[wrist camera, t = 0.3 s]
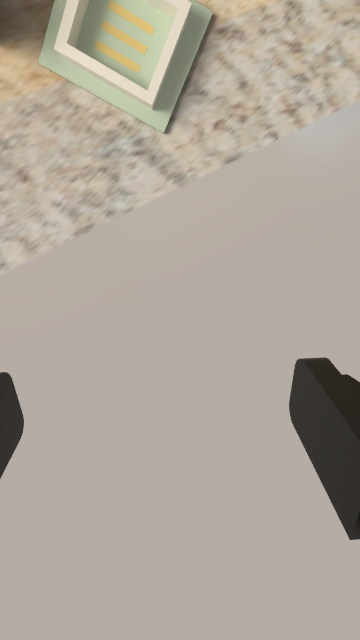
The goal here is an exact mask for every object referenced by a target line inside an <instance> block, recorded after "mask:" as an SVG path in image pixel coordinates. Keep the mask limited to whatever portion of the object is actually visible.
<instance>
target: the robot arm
mask: <svg viewBox="0 0 360 640" xmlns="http://www.w3.org/2000/svg"><path fill="white" fill-rule="evenodd" d="M289 409H290V416H291V420H292V423H293V425H294V428H295V429H296V431H297V434H298V436H299V437H300V440H301V442H302V444H303V446H304V448H305V450H306V452H307V454H308V456H309V458H310V460H311V462H312V464H313V466H314V468H315V470H316V472H317V474H318V476H319V478H320V480H321V482H322V484H323V486H324V488H325V490H326V492H327V494H328V496H329V498H330V500H331V502H332V504H333V506H334V508H335V511H336V512H337V515H338V517H339V519H340V521H341V523H342V525H343V527H344V529H345V531H346V533H347V535H348V537H349V539H350V540H355V539H360V382H358V381H357V380H355V379H354V378H352V377H351V376H349V375H341V374H340V372H339V371H338V370H337V369H336V368H335V366H334V365H333V364H332V363H331V361H330V360H329V359H327V358H307V359H298V360H297V362H296V364H295V369H294V376H293V382H292V389H291V395H290V402H289ZM23 427H24V419H23V414H22V410H21V407H20V404H19V401H18V397H17V394H16V391H15V387H14V384H13V381H12V378H11V376H10V375H9V374H8V373H6V372H2V373H0V478H1V476H2V474H3V472H4V470H5V468H6V466H7V464H8V462H9V460H10V459H11V457H12V454H13V453H14V450H15V449H16V447H17V444H18V443H19V441H20V439H21V436H22V433H23Z"/></svg>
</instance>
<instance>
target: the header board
mask: <svg viewBox="0 0 360 640" xmlns="http://www.w3.org/2000/svg"><path fill="white" fill-rule="evenodd" d="M212 14H213V12H212V11H210V10H209V9H207V8H206V7H204V6H203V5H201V4H200V3H198V2H197V1H195V0H55V1H54V5H53V8H52V12H51V16H50V20H49V23H48V27H47V31H46V35H45V38H44V42H43V46H42V50H41V53H40V57H39V61H38V63H39V64H40V65H41V66H43V67H45V68H47V69H48V70H50V71H52V72H54V73H56V74H57V75H59V76H61V77H63V78H65V79H66V80H68V81H70V82H72V83H74V84H75V85H77V86H79V87H81V88H82V89H84V90H86V91H88V92H90V93H91V94H93V95H95V96H97V97H99V98H100V99H102V100H104V101H106V102H108V103H109V104H111V105H113V106H115V107H116V108H118V109H120V110H122V111H124V112H125V113H127V114H129V115H131V116H133V117H134V118H136V119H138V120H140V121H142V122H143V123H145V124H147V125H149V126H151V127H152V128H154V129H156V130H158V131H159V132H161V133H163V134H164V131H165V129H166V127H167V124H168V122H169V119H170V117H171V114H172V112H173V109H174V107H175V105H176V102H177V100H178V97H179V95H180V92H181V90H182V88H183V85H184V83H185V80H186V78H187V75H188V73H189V70H190V68H191V66H192V63H193V61H194V58H195V56H196V53H197V51H198V48H199V46H200V44H201V41H202V39H203V36H204V34H205V31H206V29H207V27H208V24H209V22H210V19H211V17H212Z"/></svg>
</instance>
